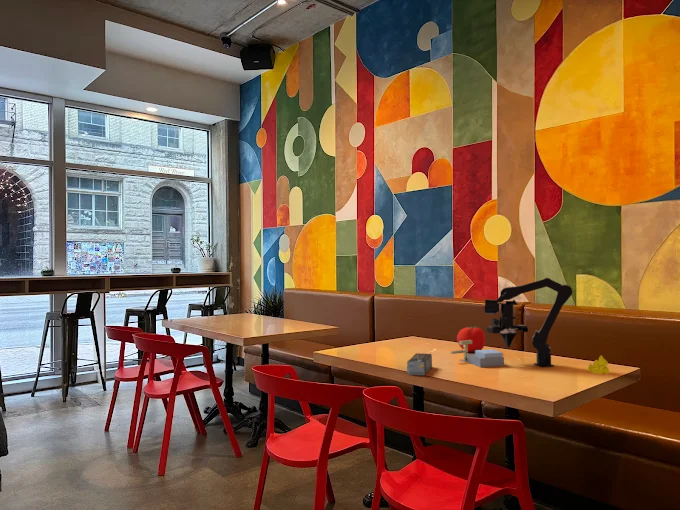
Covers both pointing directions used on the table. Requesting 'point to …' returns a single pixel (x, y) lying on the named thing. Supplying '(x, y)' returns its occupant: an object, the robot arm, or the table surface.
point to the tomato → (472, 338)
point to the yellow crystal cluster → (599, 366)
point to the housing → (484, 361)
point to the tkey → (464, 348)
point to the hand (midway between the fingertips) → (507, 347)
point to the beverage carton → (419, 364)
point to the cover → (488, 353)
